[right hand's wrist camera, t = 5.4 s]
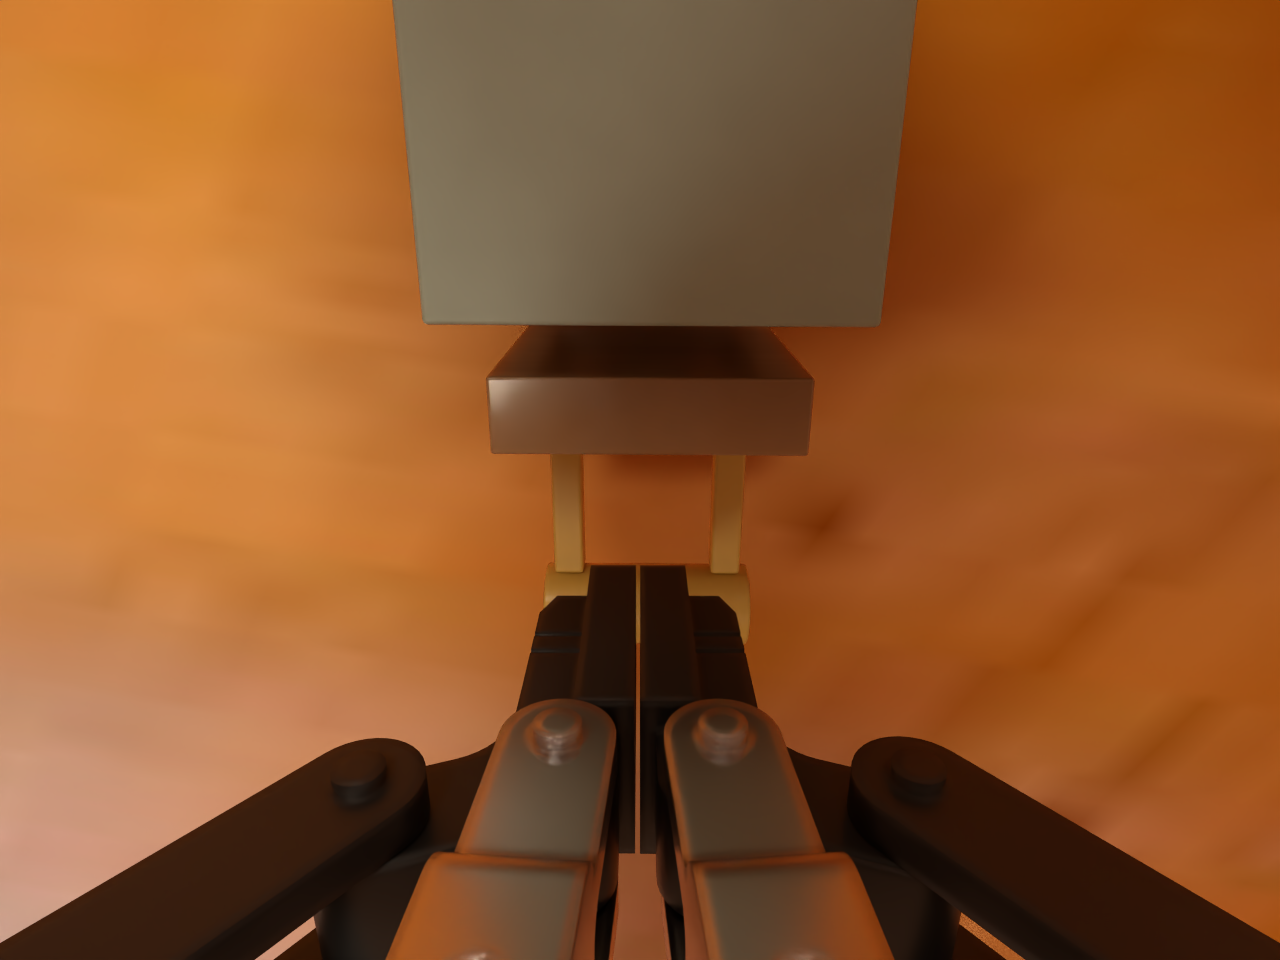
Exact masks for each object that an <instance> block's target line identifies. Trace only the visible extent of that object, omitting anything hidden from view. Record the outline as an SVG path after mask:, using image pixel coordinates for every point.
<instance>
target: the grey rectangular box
mask: <svg viewBox="0 0 1280 960" xmlns="http://www.w3.org/2000/svg"><path fill="white" fill-rule="evenodd" d="M392 2H393V12H394V23H395V33H396V44H397V55H398V65H399V76H400V87H401V97H402V108H403V119H404V129H405V140H406V151H407V161H408V172H409V182H410V193H411V204H412V214H413V225H414V236H415V246H416V257H417V268H418V278H419V289H420V299H421V310H422V320H423V322H424V323H425V324H428V325H576V326H748V327H877V326H879V324H880V322H881V315H882V306H883V297H884V289H885V280H886V271H887V262H888V253H889V245H890V236H891V227H892V218H893V210H894V201H895V192H896V183H897V174H898V166H899V157H900V148H901V139H902V131H903V122H904V113H905V104H906V95H907V87H908V78H909V69H910V60H911V52H912V43H913V34H914V25H915V16H916V8H917V0H392Z"/></svg>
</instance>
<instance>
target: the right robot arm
mask: <svg viewBox="0 0 1280 960" xmlns="http://www.w3.org/2000/svg"><path fill="white" fill-rule="evenodd" d="M635 775H636V565H591V568H590V575H589V583H588V590H587V596H556V597H555V598H554V599H553V600H552V601H551V602H550V603H549V604H548V605H547V606H546V607H545V608H544V609H543V610H542V611H541V612H540V614H539V618H538V622H537V627H536V631H535V636H534V639H533V643H532V648H531V653H530V656H529V660H528V665H527V669H526V673H525V677H524V681H523V686H522V690H521V694H520V698H519V703H518V707H517V711H516V713H514V714H513V715H512V716H511V717H510V718H508V719H507V721H506V722H505V723H504V724H503V726H502V728H501V730H500V732H499V734H498V737H497V739H496V741H495V742H494V743H492V744H491V745H489V746H488V747H486V748H484V749H482V750H480V751H478V752H476V753H473V754H471V755H468V756H465V757H462V758H458V759H454V760H450V761H446V762H441V763H437V764H433V765H428V766H426V765H425V761H424V758H423V756H422V755H421V754H420V752H419V751H418V750H417V749H415V748H414V747H413V746H411V745H409V744H407V743H405V742H402V741H399V740H395V739H388V738H373V739H364V740H359V741H354V742H351V743H347V744H344V745H342V746H339V747H337V748H334V749H332V750H331V751H329V752H327V753H325V754H323V755H321V756H320V757H318V758H316V759H314V760H313V761H311V762H309V763H308V764H306V765H304V766H302V767H301V768H299V769H297V770H296V771H294V772H292V773H291V774H289V775H287V776H285V777H284V778H282V779H280V780H279V781H277V782H275V783H273V784H272V785H270V786H268V787H267V788H265V789H263V790H261V791H260V792H258V793H256V794H255V795H253V796H251V797H249V798H248V799H246V800H244V801H243V802H241V803H239V804H237V805H236V806H234V807H232V808H231V809H229V810H227V811H225V812H224V813H222V814H220V815H219V816H217V817H215V818H214V819H212V820H210V821H208V822H207V823H205V824H203V825H202V826H200V827H198V828H196V829H195V830H193V831H191V832H190V833H188V834H186V835H184V836H183V837H181V838H179V839H178V840H176V841H174V842H172V843H171V844H169V845H167V846H166V847H164V848H162V849H160V850H159V851H157V852H155V853H154V854H152V855H150V856H148V857H147V858H145V859H143V860H142V861H140V862H138V863H137V864H135V865H133V866H131V867H130V868H128V869H126V870H125V871H123V872H121V873H119V874H118V875H116V876H114V877H113V878H111V879H109V880H107V881H106V882H104V883H102V884H101V885H99V886H97V887H95V888H94V889H92V890H90V891H89V892H87V893H85V894H83V895H82V896H80V897H78V898H77V899H75V900H73V901H71V902H70V903H68V904H66V905H65V906H63V907H61V908H60V909H58V910H56V911H54V912H53V913H51V914H49V915H48V916H46V917H44V918H42V919H41V920H39V921H37V922H36V923H34V924H32V925H30V926H29V927H27V928H25V929H24V930H22V931H20V932H18V933H17V934H15V935H13V936H12V937H10V938H8V939H6V940H5V941H3V942H1V943H0V960H255V959H256V958H258V957H259V956H260V955H262V954H263V953H264V952H266V951H267V950H268V949H270V948H271V947H272V946H274V945H275V944H276V943H278V942H279V941H280V940H282V939H283V938H284V937H286V936H287V935H288V934H290V933H291V932H292V931H294V930H295V929H297V928H298V927H299V926H301V925H302V924H303V923H305V922H306V921H307V920H309V919H310V918H311V917H313V916H314V921H315V926H316V928H315V929H314V930H312V931H311V932H310V933H308V934H307V935H306V936H304V937H303V938H302V939H300V940H299V941H298V942H296V943H295V944H294V945H292V946H291V947H290V948H288V949H287V950H286V951H285V952H283V953H282V954H281V955H279V956H278V957H277V958H275V959H274V960H613V955H614V946H615V937H616V929H617V920H618V864H619V853H635ZM640 854H656V877H657V884H658V887H659V890H660V893H661V895H662V920H663V929H664V937H665V946H666V955H667V960H1006V959H1005V958H1003V957H1002V956H1001V955H999V954H998V953H997V952H995V951H994V950H993V949H991V948H990V947H989V946H988V945H986V944H985V943H984V942H982V941H981V940H980V939H978V938H977V937H976V936H974V935H973V934H972V933H970V932H969V931H968V930H966V929H965V928H964V927H962V926H961V925H960V924H959V921H960V916H961V912H962V913H963V914H965V915H966V916H967V917H969V918H970V919H971V920H973V921H974V922H975V923H977V924H978V925H979V926H981V927H982V928H983V929H985V930H986V931H987V932H989V933H990V934H992V935H993V936H994V937H996V938H997V939H998V940H1000V941H1001V942H1002V943H1004V944H1005V945H1006V946H1008V947H1009V948H1010V949H1012V950H1013V951H1014V952H1016V953H1017V954H1018V955H1020V956H1021V957H1022V958H1024V959H1025V960H1280V943H1279V942H1277V941H1275V940H1274V939H1272V938H1270V937H1268V936H1267V935H1265V934H1263V933H1262V932H1260V931H1258V930H1256V929H1255V928H1253V927H1251V926H1250V925H1248V924H1246V923H1244V922H1243V921H1241V920H1239V919H1238V918H1236V917H1234V916H1232V915H1231V914H1229V913H1227V912H1226V911H1224V910H1222V909H1220V908H1219V907H1217V906H1215V905H1214V904H1212V903H1210V902H1208V901H1207V900H1205V899H1203V898H1202V897H1200V896H1198V895H1197V894H1195V893H1193V892H1191V891H1190V890H1188V889H1186V888H1185V887H1183V886H1181V885H1179V884H1178V883H1176V882H1174V881H1173V880H1171V879H1169V878H1167V877H1166V876H1164V875H1162V874H1161V873H1159V872H1157V871H1155V870H1154V869H1152V868H1150V867H1149V866H1147V865H1145V864H1143V863H1142V862H1140V861H1138V860H1137V859H1135V858H1133V857H1131V856H1130V855H1128V854H1126V853H1125V852H1123V851H1121V850H1120V849H1118V848H1116V847H1114V846H1113V845H1111V844H1109V843H1108V842H1106V841H1104V840H1102V839H1101V838H1099V837H1097V836H1096V835H1094V834H1092V833H1090V832H1089V831H1087V830H1085V829H1084V828H1082V827H1080V826H1078V825H1077V824H1075V823H1073V822H1072V821H1070V820H1068V819H1066V818H1065V817H1063V816H1061V815H1060V814H1058V813H1056V812H1054V811H1053V810H1051V809H1049V808H1048V807H1046V806H1044V805H1043V804H1041V803H1039V802H1037V801H1036V800H1034V799H1032V798H1031V797H1029V796H1027V795H1025V794H1024V793H1022V792H1020V791H1019V790H1017V789H1015V788H1013V787H1012V786H1010V785H1008V784H1007V783H1005V782H1003V781H1001V780H1000V779H998V778H996V777H995V776H993V775H991V774H989V773H988V772H986V771H984V770H983V769H981V768H979V767H977V766H976V765H974V764H972V763H971V762H969V761H967V760H966V759H964V758H962V757H960V756H959V755H957V754H955V753H954V752H952V751H950V750H948V749H946V748H944V747H942V746H940V745H937V744H935V743H932V742H929V741H925V740H922V739H917V738H911V737H901V736H896V737H884V738H879V739H876V740H873V741H870V742H868V743H866V744H865V745H863V746H862V747H861V748H860V749H858V751H857V752H856V753H855V755H854V757H853V760H852V764H851V767H849V766H845V765H840V764H836V763H832V762H828V761H823V760H819V759H815V758H812V757H808V756H805V755H803V754H800V753H798V752H796V751H794V750H792V749H790V748H788V747H786V745H785V742H784V740H783V737H782V734H781V732H780V730H779V728H778V726H777V724H776V723H775V722H774V721H773V719H772V718H770V717H769V716H768V715H767V714H766V713H764V712H763V711H761V710H760V709H758V707H757V703H756V698H755V694H754V690H753V685H752V681H751V676H750V672H749V667H748V663H747V659H746V654H745V653H744V645H743V641H742V637H741V632H740V628H739V623H738V619H737V615H736V612H735V611H734V610H733V609H732V608H731V607H730V606H729V605H728V604H727V603H726V602H725V601H724V600H723V599H722V598H721V597H720V596H689V592H688V584H687V576H686V568H685V565H640Z"/></svg>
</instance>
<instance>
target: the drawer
mask: <svg viewBox="0 0 1280 960" xmlns="http://www.w3.org/2000/svg"><path fill="white" fill-rule="evenodd" d="M814 382H815V381H814V379H813V378H812V376H811V375H810V374H809V373H808V372H807V371H806V369H805V368H804V367H803V366H802V365H801V364H800V363H799V361H798V360H797V359H796V358H795V357H794V356H793V354H792V353H791V352H790V351H789V350H788V349H787V348H786V346H785V345H784V344H783V343H782V342H781V341H780V339H779V338H778V337H777V336H776V335H775V334H774V333H773V331H772V330H771V329H770V328H769V327H748V326H576V325H529V326H528V328H527V329H526V330H525V331H524V332H523V334H522V335H521V336H520V337H519V338H518V340H517V341H516V342H515V343H514V345H513V346H512V347H511V348H510V349H509V351H508V352H507V353H506V354H505V356H504V357H503V358H502V359H501V360H500V362H499V363H498V364H497V365H496V366H495V368H494V369H493V370H492V371H491V373H490V374H489V375H488V376H487V378H486V387H487V401H488V416H489V431H490V446H491V452H492V453H493V454H550V456H551V482H552V508H553V535H554V561H555V563H549V564H548V567H547V570H546V575H545V583H544V599H543V609H544V608H545V607H546V606H547V605H548V604H549V603H550V602H551V601H552V600H553V599H554V598H555V597H556V596H587V590H588V583H589V575H590V568H591V565H636V643H640V565H685V568H686V576H687V584H688V592H689V596H720V597H721V598H722V599H723V600H724V601H725V602H726V603H727V604H728V605H729V606H730V607H731V608H732V609H733V610H734V611H735V612H736V615H737V619H738V623H739V628H740V632H741V637H742V641H743V644H745V643H747V640H748V637H749V630H750V614H751V602H750V584H749V576H748V571H747V568H746V566H745V565H744V564H740V550H741V533H742V515H743V497H744V479H745V461H746V455H763V456H806V455H807V454H808V451H809V440H810V428H811V416H812V405H813V393H814ZM583 454H608V455H713V462H712V487H711V512H710V536H709V564H660V563H585V515H584V470H583Z"/></svg>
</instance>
